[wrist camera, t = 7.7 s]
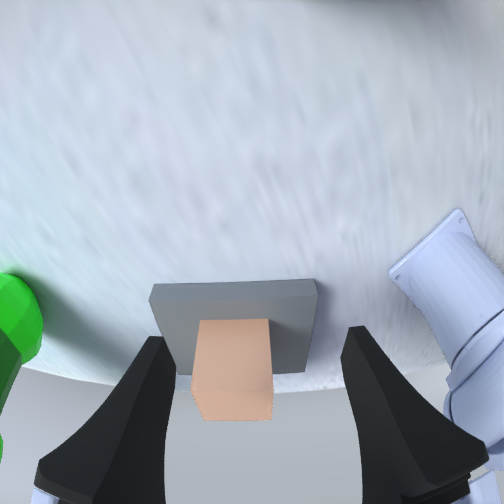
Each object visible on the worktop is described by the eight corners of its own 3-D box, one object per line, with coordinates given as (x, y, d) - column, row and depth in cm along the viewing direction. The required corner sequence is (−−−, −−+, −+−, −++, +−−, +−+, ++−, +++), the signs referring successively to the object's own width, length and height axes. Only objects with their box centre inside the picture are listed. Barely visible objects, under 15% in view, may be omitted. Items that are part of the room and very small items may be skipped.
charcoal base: (313, 278, 21) (318, 295, 19) (302, 357, 26) (304, 372, 25) (154, 284, 21) (148, 300, 19) (180, 359, 27) (178, 374, 25)
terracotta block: (268, 318, 21) (273, 390, 16) (267, 357, 23) (271, 419, 18) (200, 319, 21) (190, 390, 16) (209, 358, 23) (203, 420, 18)
